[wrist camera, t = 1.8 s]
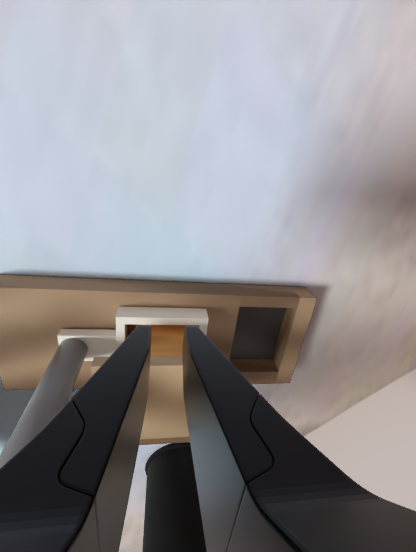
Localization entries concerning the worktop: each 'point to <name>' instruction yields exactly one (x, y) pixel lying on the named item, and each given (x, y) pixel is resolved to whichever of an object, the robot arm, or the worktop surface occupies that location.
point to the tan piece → (135, 293)
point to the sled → (71, 357)
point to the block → (166, 339)
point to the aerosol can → (172, 502)
